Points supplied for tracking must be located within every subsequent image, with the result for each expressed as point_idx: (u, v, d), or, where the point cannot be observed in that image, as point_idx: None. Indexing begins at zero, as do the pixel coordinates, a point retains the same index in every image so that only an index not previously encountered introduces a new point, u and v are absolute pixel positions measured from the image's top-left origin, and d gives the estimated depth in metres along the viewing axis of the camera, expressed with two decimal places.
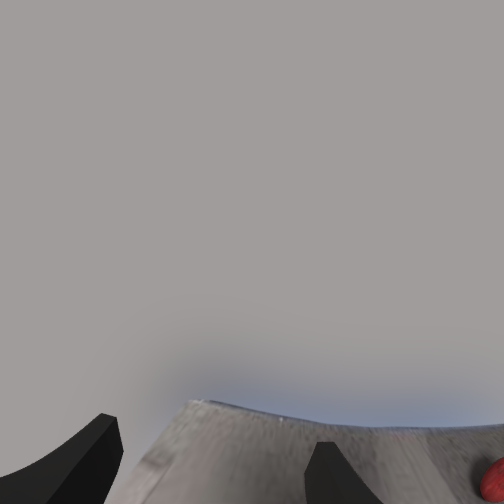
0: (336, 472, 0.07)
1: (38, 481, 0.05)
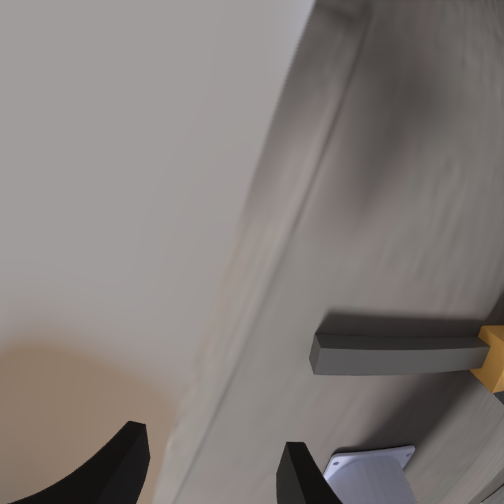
0: (301, 473, 0.07)
1: (73, 497, 0.05)
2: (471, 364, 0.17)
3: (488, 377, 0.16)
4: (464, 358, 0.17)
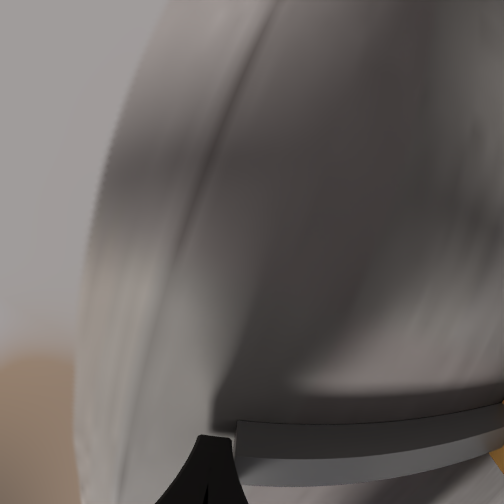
0: (213, 469, 0.07)
1: None
2: (489, 448, 0.09)
3: None
4: (481, 444, 0.09)
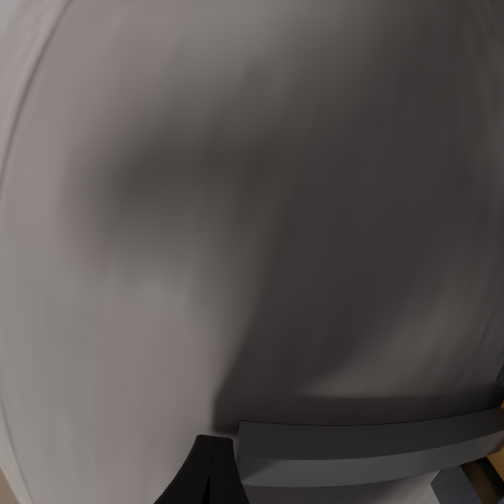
0: (214, 469, 0.07)
1: None
2: (487, 451, 0.09)
3: None
4: (479, 447, 0.09)
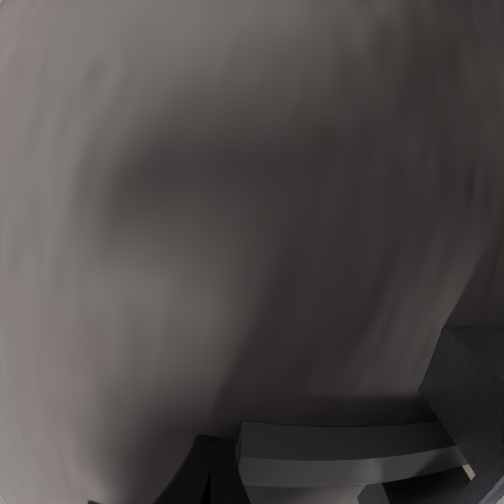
0: (215, 469, 0.07)
1: None
2: None
3: None
4: None
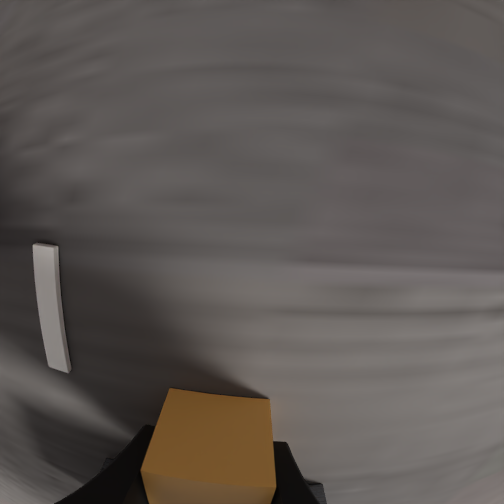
0: (280, 473, 0.07)
1: None
2: None
3: None
4: None
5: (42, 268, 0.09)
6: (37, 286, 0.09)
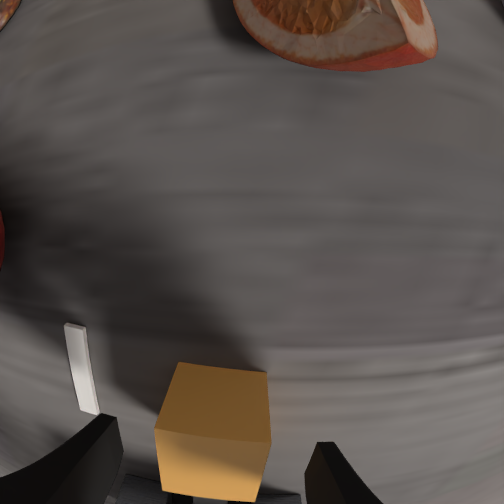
0: (336, 472, 0.07)
1: (38, 481, 0.05)
2: None
3: None
4: None
5: (74, 343, 0.11)
6: (70, 355, 0.12)
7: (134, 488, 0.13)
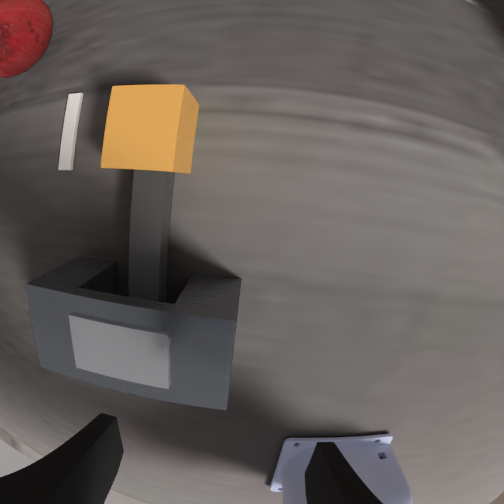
0: (336, 472, 0.07)
1: (38, 481, 0.05)
2: (155, 198, 0.15)
3: None
4: (144, 218, 0.16)
5: (72, 105, 0.15)
6: (66, 116, 0.16)
7: (80, 262, 0.17)
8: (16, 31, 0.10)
